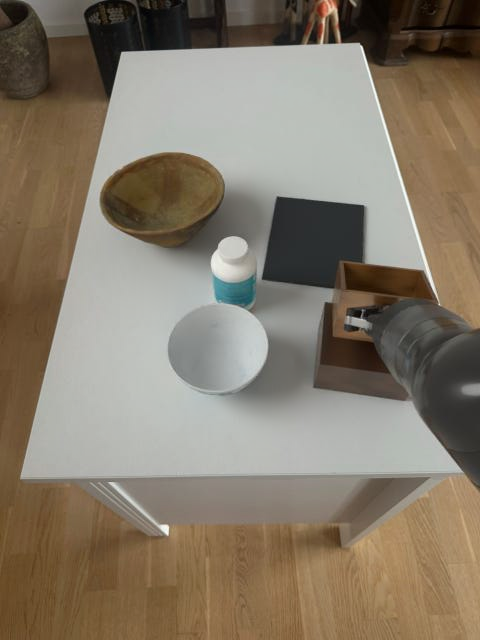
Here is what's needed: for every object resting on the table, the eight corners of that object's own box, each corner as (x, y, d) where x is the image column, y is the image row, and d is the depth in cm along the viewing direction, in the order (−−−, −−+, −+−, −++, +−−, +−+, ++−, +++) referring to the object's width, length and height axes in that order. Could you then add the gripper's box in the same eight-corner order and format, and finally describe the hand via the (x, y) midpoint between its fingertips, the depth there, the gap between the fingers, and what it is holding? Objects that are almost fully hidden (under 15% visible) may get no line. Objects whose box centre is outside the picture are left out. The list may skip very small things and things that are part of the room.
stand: (402, 340, 74) (417, 313, 67) (404, 401, 68) (421, 378, 61) (318, 328, 75) (324, 301, 68) (312, 387, 69) (319, 364, 63)
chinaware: (210, 431, 66) (206, 413, 59) (156, 362, 72) (147, 338, 66) (286, 374, 71) (289, 351, 64) (228, 314, 77) (226, 287, 71)
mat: (363, 207, 91) (364, 205, 90) (361, 292, 79) (361, 290, 79) (276, 198, 93) (276, 196, 92) (261, 279, 81) (261, 277, 81)
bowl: (120, 193, 95) (107, 153, 86) (226, 190, 95) (224, 149, 86) (105, 273, 83) (89, 235, 74) (227, 269, 83) (224, 231, 74)
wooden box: (411, 312, 67) (423, 270, 63) (424, 349, 58) (439, 302, 55) (331, 302, 68) (339, 260, 65) (332, 336, 60) (341, 290, 56)
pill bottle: (262, 308, 78) (265, 257, 66) (223, 321, 76) (218, 272, 65) (246, 277, 81) (246, 224, 70) (209, 289, 80) (202, 237, 69)
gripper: (511, 314, 38) (446, 288, 55) (356, 296, 39) (338, 276, 56) (492, 395, 40) (434, 346, 56) (343, 375, 41) (330, 333, 58)
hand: (386, 311), depth 56 cm, fingers closed
